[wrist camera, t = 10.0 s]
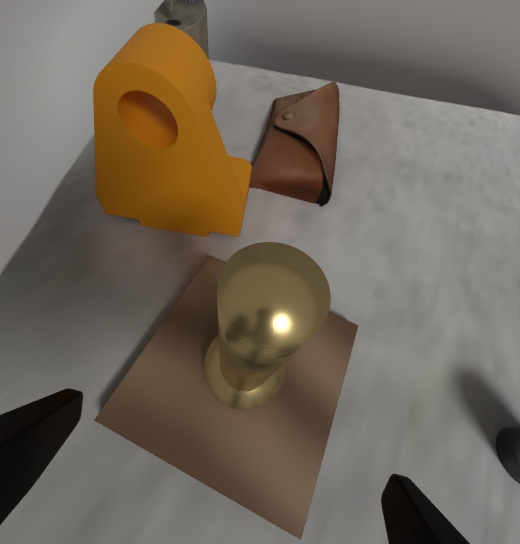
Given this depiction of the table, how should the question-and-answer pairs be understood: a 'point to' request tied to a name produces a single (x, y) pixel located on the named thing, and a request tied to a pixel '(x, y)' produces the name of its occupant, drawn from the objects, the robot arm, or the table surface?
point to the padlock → (186, 19)
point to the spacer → (509, 450)
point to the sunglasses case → (300, 146)
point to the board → (233, 410)
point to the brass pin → (263, 321)
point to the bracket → (165, 138)
